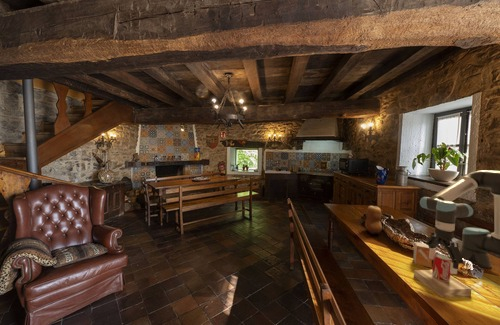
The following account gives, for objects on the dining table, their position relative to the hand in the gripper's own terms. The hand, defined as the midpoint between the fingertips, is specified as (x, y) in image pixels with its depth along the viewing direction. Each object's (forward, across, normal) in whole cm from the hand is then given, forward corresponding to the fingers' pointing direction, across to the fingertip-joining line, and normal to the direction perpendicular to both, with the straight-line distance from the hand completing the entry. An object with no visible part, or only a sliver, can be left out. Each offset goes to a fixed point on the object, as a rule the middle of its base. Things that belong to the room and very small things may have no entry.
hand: (442, 265), depth 106 cm
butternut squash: (+12, -70, -2) cm, 71 cm away
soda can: (+8, 0, 0) cm, 8 cm away
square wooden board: (+12, 0, 0) cm, 12 cm away
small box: (+12, -22, +6) cm, 26 cm away
